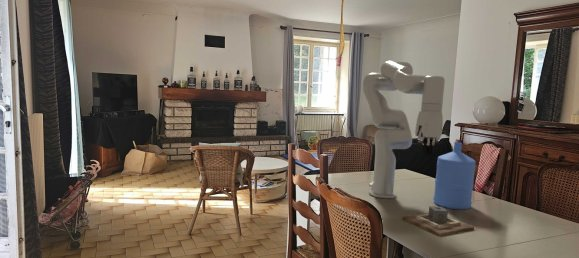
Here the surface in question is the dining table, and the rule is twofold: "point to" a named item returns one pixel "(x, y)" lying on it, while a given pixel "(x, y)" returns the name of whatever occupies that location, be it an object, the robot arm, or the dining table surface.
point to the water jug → (454, 179)
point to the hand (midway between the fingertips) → (427, 155)
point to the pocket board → (438, 229)
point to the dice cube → (438, 215)
